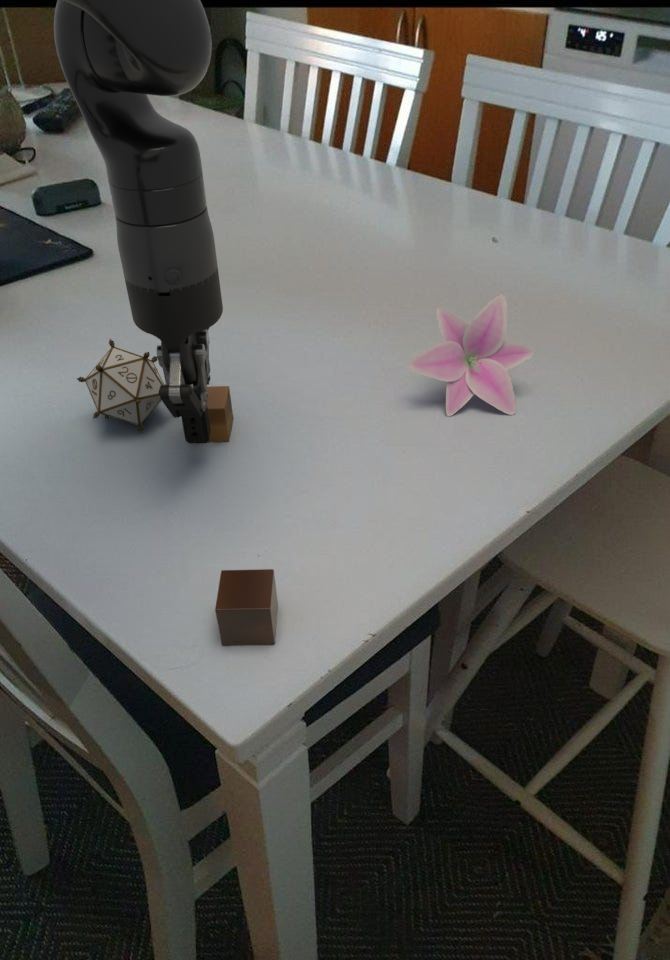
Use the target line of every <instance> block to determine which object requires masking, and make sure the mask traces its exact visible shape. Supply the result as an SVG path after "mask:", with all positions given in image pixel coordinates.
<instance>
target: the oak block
mask: <svg viewBox="0 0 670 960" xmlns="http://www.w3.org/2000/svg"><path fill="white" fill-rule="evenodd" d="M207 390H208V392H209V397H208V401H205V402H207V408H208V415H209V421H210V428H211V433H210V438H209V441H208V442H207V443H221V442H222V443H223V442H224V443H225V442H227V443H228V442H229V443H230V440H231V433H232V429H233V423H234V413H233V403H232V398H231V390H230V386H229V385H216V386H214V385H213V386H212V385H211V386H210V385H208V386H207Z"/></svg>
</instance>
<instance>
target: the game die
mask: <svg viewBox="0 0 670 960" xmlns="http://www.w3.org/2000/svg"><path fill="white" fill-rule="evenodd" d="M108 344H109V346H110V349H109V350H108V351H107V352H106V354H105V355H104V356H103V357H102V358H101V359H100V361H98V363H97V364H96V365H95V366H94V368H93V369H92V370H91V371H90V373H89V374H88V375H87V376H86V377H84V376H79V377H77V378H76V380H77V381H78V383H85V385H86V388H87V389H88V391H89V394H90V397H91V399H92V401H93V403H94V406H95V408H96V410H97V411H95V412H94V413H93V414H92V415H93V416H92V418H93V419H98V418H99V417H100V416H101V415H102V416H103V417H104V419H110V418H112V419H115V420H119V421H122V422H125V423H128V424H132V425H135V426H137V430H138V432H140V433H141V434H143V433H144V427H143V424H144V422H145V421H146V420H147V418H148V417H149V416H150V415H151V413H153V411H154V410H155V409H156V408H157V407H158V405H159V404H160V403H161V402H162V400H161V399H160V396H159V390H160V386H161V385H165V384H164V382H163V379H162V377H161V375H160V373H159V371H158V368H157V367H156V364H155V363H156V362H158V358H157V355H156V356H155V355H154V356H152V358H151V359H150V358H149V357H150V356H151V354H150V351H147V352H144V353H143V355H140V354H137V353H134V352H131V351H128V350H125V349H123V348H120V347H116V345H115V341H114V340H112V338H109V340H108Z"/></svg>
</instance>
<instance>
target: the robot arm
mask: <svg viewBox="0 0 670 960" xmlns="http://www.w3.org/2000/svg"><path fill="white" fill-rule="evenodd" d="M53 37H54V44H55V45H54V46H55V50H56V55H57V58H58V61H59V65H60V68H61V70H62V73H63V76H64V78H65V80H66V82H67V85H68V87H69V89H70V91H71V94H72V96H73V98H74V100H75V102H76V104H77V107H78V108H79V111H80V114H81V115H82V117H83V120H84V122H85V124H86V126H87V129H88V131H89V133H90V135H91V137H92V139H93V141H94V143H95V145H96V147H97V149H98V150H99V151H98V152H99V153H100V155H101V157H102V159H103V162H104V166H105V170H106V177H107V180H108V181H107V183H108V186H109V191H110V196H111V201H112V202H111V203H112V206H113V211H114V217H115V224H116V240H117V247H118V253H119V258H120V262H121V267H122V272H123V277H124V282H125V287H126V292H127V298H128V302H129V307H130V313H131V316H132V321H133V323H134V324H135V326H136V327H137V328H138V329H139V330H141V331H142V332H144V333H146V334H149V335H151V336H153V337H155V338H157V339H158V340H159V341H160V342H161V343H160V344H157V346H156V356H157V362H158V365H159V366H160V368H162V372H163V377H164V382H165V384H164V385H161V386H160V390H159V396H160V399H161V402H162V403H163V405H164V406H165V407H166V409H167V410H168V411H169V413H170V414H171V416H172V417H173V418H181V423H182V428H183V433H184V439H185V442H186V443H188V444H190V445H191V444H194V445H196V444H207V443H209V442H208V441H209V438H210V433H211V428H210V421H209V415H208V408H207V402H205V401H208V397H209V392H208V390H207V387H208V386H210V381H211V375H210V373H211V364H210V349H209V348H210V347H209V345H210V334H209V330H210V328H211V327H213V326H214V325H215V324H216V323H218V322H219V320H220V319H221V317H222V315H223V312H224V306H223V298H222V297H223V296H222V290H221V282H220V274H219V266H218V258H217V249H216V242H215V236H214V235H215V234H214V230H213V226H212V222H211V218H210V215H209V210H208V205H207V196H206V189H205V180H204V172H203V165H202V157H201V153H200V148H199V143H198V141H197V139H196V138H195V137H196V136H194V134H193V133H192V132H191V131H190V130H189V129H187V128H186V127H184V126H182V125H180V124H178V123H175V122H174V121H171V120H170V119H167V118H165V117H164V116H162V114H160V113H159V112H157V111H156V109H155V108H154V106H153V103H151V100H150V97H149V96H156V97H177V96H181V95H185V94H187V93H188V92H191V91H192V90H193V89H196V87H197V86H198V85H199V84H200V83H201V82H202V81H203V79H204V77H205V76H206V74H207V72H208V70H209V66H210V63H211V58H212V43H213V42H212V33H211V27H210V24H209V19H208V17H207V13H206V11H205V8H204V6H203V2H202V1H201V0H56V5H55V9H54V15H53ZM148 95H149V96H148Z"/></svg>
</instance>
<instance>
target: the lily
mask: <svg viewBox="0 0 670 960" xmlns="http://www.w3.org/2000/svg"><path fill="white" fill-rule="evenodd" d="M435 311H436V318H437V323H438V327H439V332H440V335H441V339H442V342H439V343H437V344H434V345H433V346H431V347H429V348H427V349H426V350H424V351H422V352H420V353H419V354H417V355H415V356H414V357H412V359H410V360H409V361H408V362H407V363H406V368H407V369H408V370H409V371H412V372H413V373H416V374H419V375H422V376H425V377H428V378H431V379H434V380H438V381H441V382H445V383H446V390H445V414H446V416H447V417H451V416H453V415H454V414H456V413H457V412H458V411H459V410H461V408H463V407H464V406H465V405H466V404H467V403H468V402H469V401H470V400H471V398H472V397H474V395H475V396H477V398H479V399H480V400H482V401H484V402H485V403H487V404H488V405H491V406H492V407H494V408H495V409H497V410H499V411H500V412H502V413H504V414H506V415H509V416H515V414H516V412H517V409H516V408H517V404H516V398H515V392H514V387H513V383H512V379H511V376H510V374H509V372H508V371H509V370H511V369H514V368H515V367H517V366H519V365H521V364H522V363H524V362H526V361H527V360H529V359H530V358H532V357H533V356H534V354H535V351H534V350H533V349H531V347H527V346H525V345H522V344H520V343H515V342H513V341H507V340H505V338H506V336H507V335H506V334H507V328H508V327H507V326H508V303H507V297H506V296H505V295H504V294H498V295H497V296H495V297H494V298H493V299H491V300H490V301H489V302H488V303H487V304H486V305H485V306H483V308H482V309H480V310H479V312H478V313H477V314H476V315H474V316H473V317H472V319H471V320H470V321H469V322H468V323H467V322H466V321H464V320H463V319H462V318H461V317H459V316H458V315H456V314H455V313H453V312H451V311H449V310H448V309H446V308H443V307H436V310H435Z"/></svg>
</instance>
